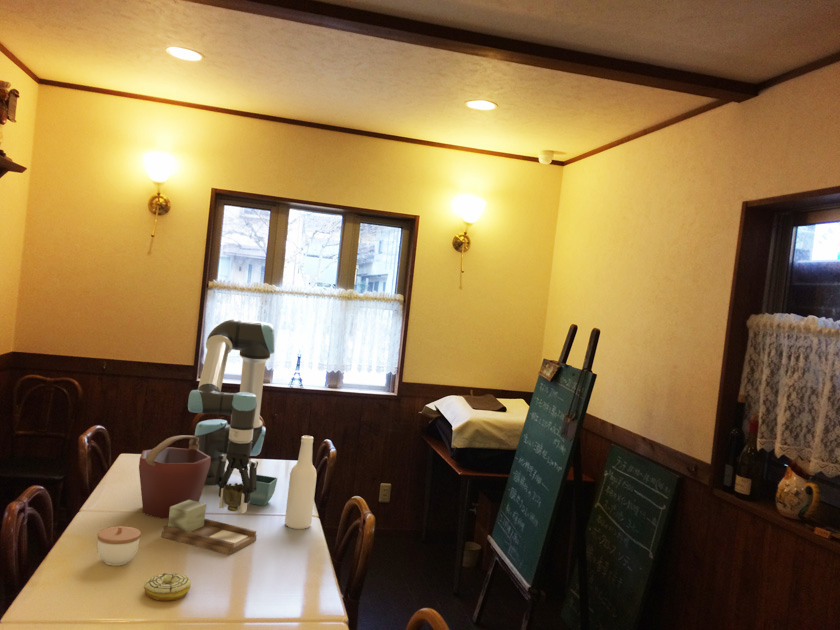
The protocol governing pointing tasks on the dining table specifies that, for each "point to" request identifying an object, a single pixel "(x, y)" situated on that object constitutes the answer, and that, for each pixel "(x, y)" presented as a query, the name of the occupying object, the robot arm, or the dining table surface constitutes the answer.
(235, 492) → the cup
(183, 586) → the decorated donut
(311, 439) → the alcohol
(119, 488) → the dining table surface
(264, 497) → the flower pot
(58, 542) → the dining table surface
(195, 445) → the bucket
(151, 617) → the dining table surface
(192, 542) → the brown wooden tray
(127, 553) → the lidded jar
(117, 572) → the dining table surface
